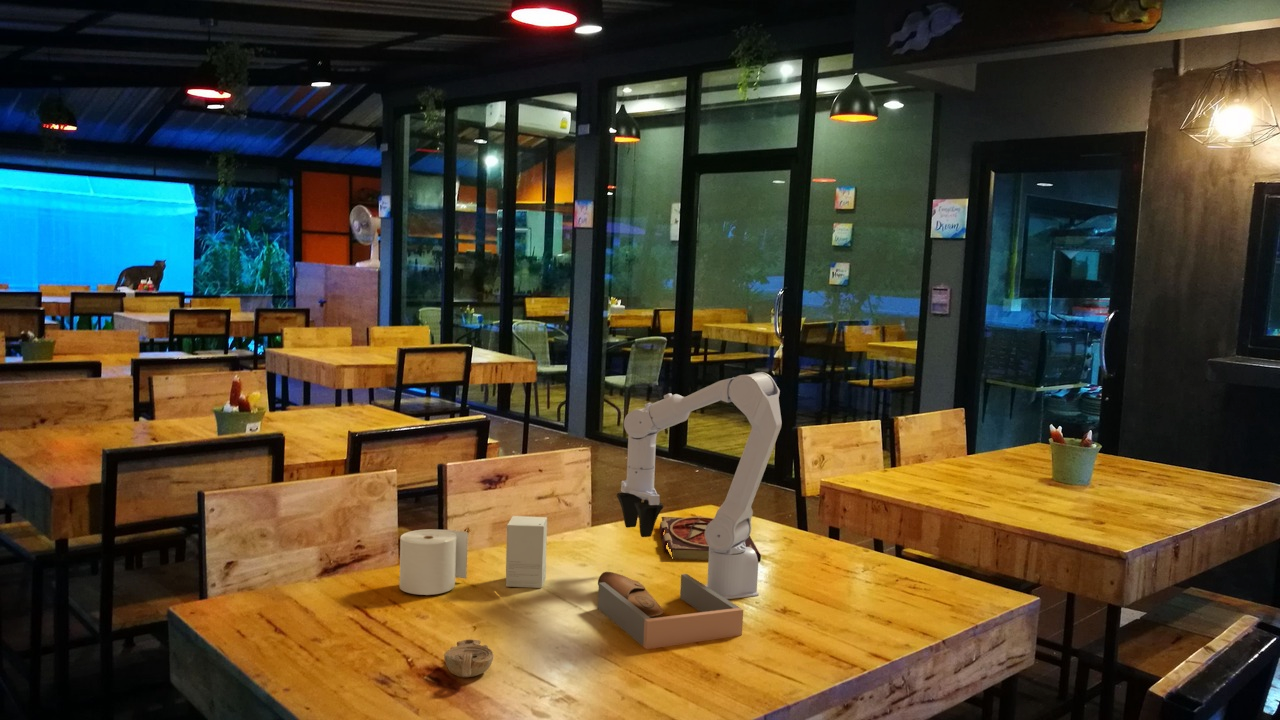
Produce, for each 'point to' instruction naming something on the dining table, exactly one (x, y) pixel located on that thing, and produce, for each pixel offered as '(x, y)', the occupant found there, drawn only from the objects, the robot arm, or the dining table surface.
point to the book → (690, 537)
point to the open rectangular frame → (672, 630)
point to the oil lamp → (468, 658)
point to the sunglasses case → (632, 592)
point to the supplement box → (526, 551)
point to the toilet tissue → (432, 560)
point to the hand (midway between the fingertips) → (638, 531)
